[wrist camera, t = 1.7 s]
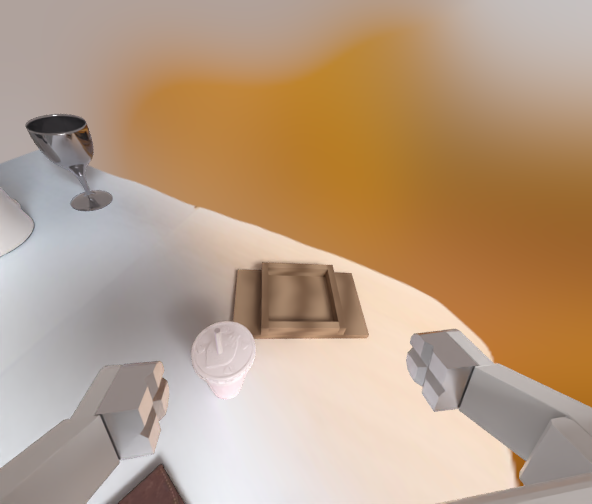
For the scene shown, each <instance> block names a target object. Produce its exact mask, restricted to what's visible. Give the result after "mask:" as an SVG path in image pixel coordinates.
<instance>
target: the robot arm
mask: <svg viewBox="0 0 592 504" xmlns="http://www.w3.org/2000/svg"><path fill="white" fill-rule="evenodd" d="M33 227H34V223H33V220H32V219H31V217H30V216H28V215H27V214H26V213H25V212H24V211H23V210H21V206H20V204H19V203H18V202H17V201H16V200H15V199H11V198H10V197H9V196H8V195H7V193H6V192H5V191H4V190H3V189H2V188H1V187H0V256H2V255H4V254H6V253H8V252H10V251H12V250H13V249H15V248H16V247H18V246H19V245H20V244H22V243H23V242H24V241H25V240H26V239H27V238H28V237H29V235H30V234H31V232H32V230H33ZM410 344H411V345H412V347H413V348H412V349H411V350H410V351H409V352H408V354H407V359H406V362H407V368H408V371H409V373H410V376H411V377H412V379H413V380H414V382H416V383H417V384H419V385H420V386H422V394H423V396H424V397H425V399H426V400H427V402H428V403H429V405H430V406H431V408H432V409H433V411H434V412H436V411H444V410H452V409H459V411H461V412H462V413H463V414H465V415H466V416H467V417H469V418H470V419H471V420H472V421H474V422H475V423H476V424H478V425H479V426H480V427H482V428H483V429H484V430H486V431H487V432H488V433H490V434H491V435H492V436H494V437H495V438H496V439H498V440H499V441H500V442H501V443H503V444H504V445H505V446H507V447H508V448H509V449H511V450H512V451H513V452H515V453H516V454H517V455H519V456H520V457H521V458H523V459H524V460H525V461H526V463H525V464H524V466H523V468H522V470H521V471H520V477H519V478H520V480H521V481H522V482H523V484H524V485H525V486H521V487H516V488H511V489H506V490H501V491H496V492H491V493H486V494H481V495H476V496H472V497H467V498H462V499H457V500H452V501H447V502H442V503H437V504H592V408H591V407H589V406H587V405H585V404H582V403H581V402H579V401H576V400H574V399H572V398H570V397H568V396H566V395H564V394H562V393H560V392H557V391H555V390H553V389H551V388H549V387H547V386H544V385H543V384H541V383H539V382H536V381H534V380H532V379H530V378H528V377H526V376H524V375H522V374H520V373H517V372H515V371H513V370H511V369H509V368H507V367H505V366H503V365H501V364H494V363H493V362H492V361H491V360H490V359H489V358H488V357H487V356H486V355H484V354H483V353H482V352H481V351H480V350H479V349H478V348H477V347H476V346H475V345H474V344H473V343H472V342H471V341H470V340H469V339H468V338H467V337H466V336H465V335H464V334H463V333H462V332H460V331H459V330H457V329H449V330H441V331H433V332H424V333H416V334H413V336H412V337H411V341H410ZM163 373H164V367H163V364H162V362H160V361H155V362H143V363H130V364H124V365H111V366H105V367H104V368H102V369H101V370H100V371H99V373H98V375H97V376H96V378H95V380H94V381H93V383H92V384H91V386H90V388H89V389H88V391H87V392H86V394H85V396H84V397H83V399H82V401H81V402H80V404H79V405H78V407H77V409H76V410H75V412H74V413H73V415H72V417H71V418H70V419H66V420H63V421H62V422H60V423H59V424H58V425H56V426H55V427H54V428H53V429H51V430H50V431H49V432H47V433H46V434H45V435H43V436H42V437H41V438H40V439H38V440H37V441H36V442H34V443H33V444H32V445H30V446H29V447H28V448H26V449H25V450H24V451H23V452H21V453H20V454H19V455H17V456H16V457H15V458H13V459H12V460H11V461H10V462H8V463H7V464H6V465H4V466H3V467H2V468H0V504H86V503H87V502H88V500H89V499H90V498H91V497H92V496H93V494H94V493H95V492H96V491H97V490H98V488H99V487H100V486H101V485H102V484H103V482H104V481H105V480H106V479H107V477H108V476H109V475H110V474H111V473H112V471H113V470H114V469H115V468H116V467H117V465H118V464H119V463H120V461H119V460H125V459H130V458H136V457H141V456H147V455H152V454H154V452H155V448H156V445H157V441H158V438H159V435H160V431H161V428H160V425H159V421H160V420H161V419H162V418H163V417H164V416H165V414H166V411H167V407H168V401H169V386H168V382H167V380H165V379H164V378H162V376H163Z"/></svg>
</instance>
